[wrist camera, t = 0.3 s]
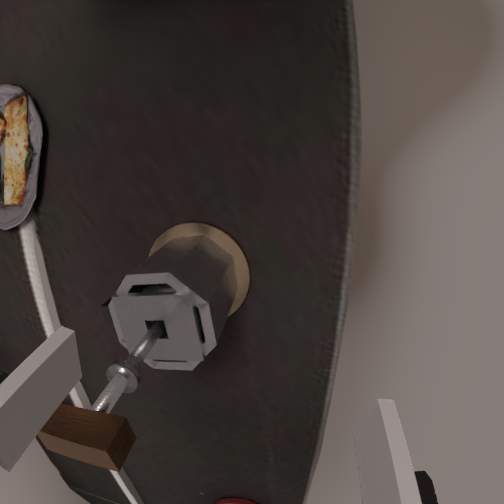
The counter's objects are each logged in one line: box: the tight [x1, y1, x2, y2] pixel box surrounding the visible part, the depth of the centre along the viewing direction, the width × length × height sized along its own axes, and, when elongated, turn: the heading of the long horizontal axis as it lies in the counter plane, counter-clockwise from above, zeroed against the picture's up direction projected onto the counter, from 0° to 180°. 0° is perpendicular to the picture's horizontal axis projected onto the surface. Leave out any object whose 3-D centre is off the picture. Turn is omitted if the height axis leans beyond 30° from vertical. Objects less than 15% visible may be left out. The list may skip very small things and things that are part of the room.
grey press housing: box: [101, 222, 250, 370], centre depth 36 cm, size 14×15×15 cm
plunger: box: [37, 283, 201, 471], centre depth 23 cm, size 7×7×19 cm
